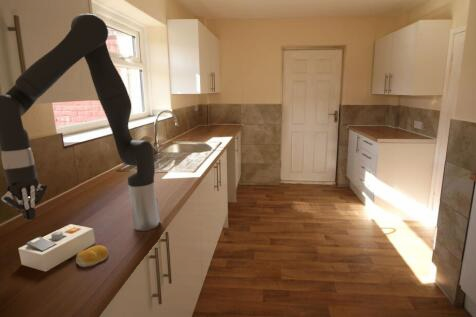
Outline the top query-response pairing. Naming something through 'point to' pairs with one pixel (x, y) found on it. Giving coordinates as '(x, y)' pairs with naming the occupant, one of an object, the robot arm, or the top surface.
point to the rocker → (40, 244)
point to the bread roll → (91, 256)
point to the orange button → (72, 230)
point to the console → (58, 248)
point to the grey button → (57, 236)
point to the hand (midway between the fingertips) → (30, 219)
